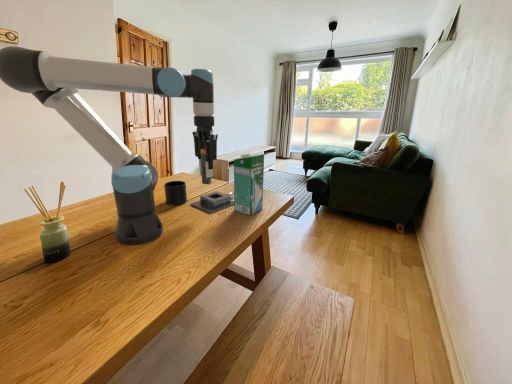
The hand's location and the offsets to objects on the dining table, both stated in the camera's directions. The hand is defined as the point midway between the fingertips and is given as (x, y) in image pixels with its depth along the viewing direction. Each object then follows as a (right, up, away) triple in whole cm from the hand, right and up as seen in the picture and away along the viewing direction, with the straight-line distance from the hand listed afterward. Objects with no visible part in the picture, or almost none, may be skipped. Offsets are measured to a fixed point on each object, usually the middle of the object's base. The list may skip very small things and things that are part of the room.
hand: (206, 175), depth 100 cm
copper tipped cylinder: (0, -3, +1) cm, 3 cm away
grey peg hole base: (+3, -12, +17) cm, 21 cm away
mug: (-17, -11, +18) cm, 27 cm away
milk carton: (+17, -15, +9) cm, 24 cm away
